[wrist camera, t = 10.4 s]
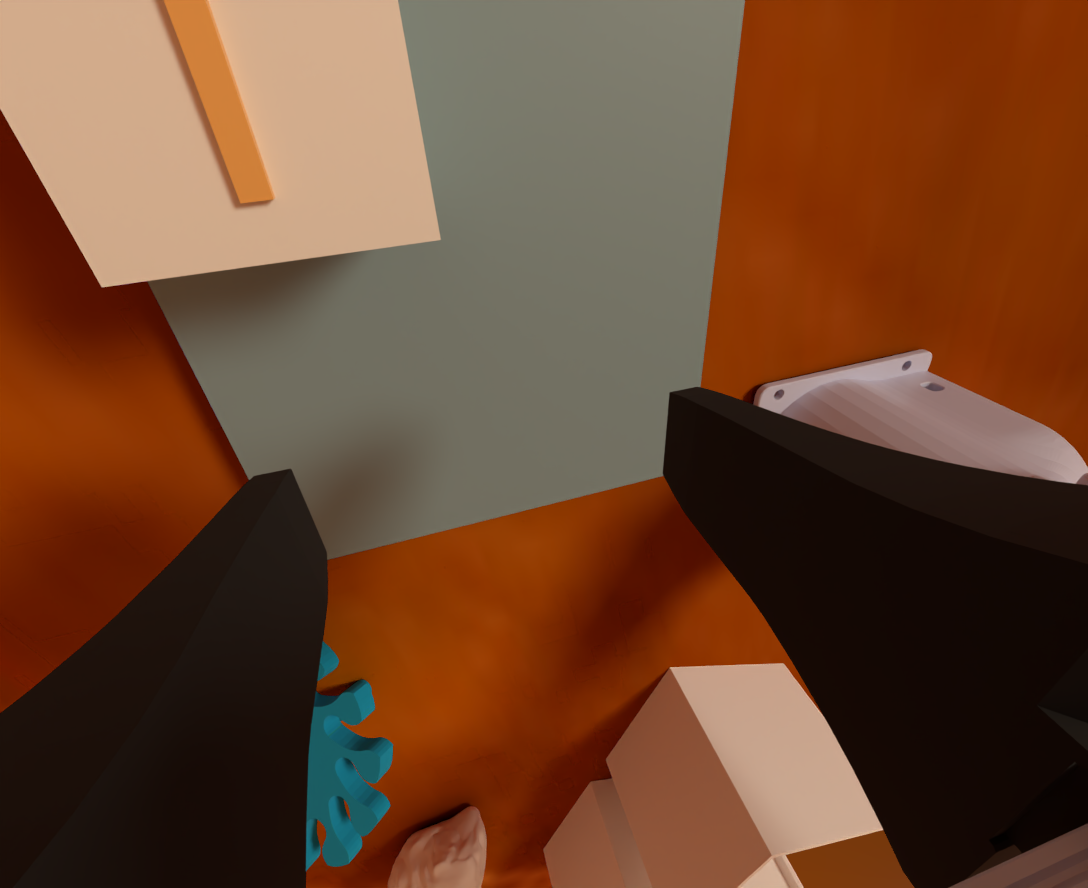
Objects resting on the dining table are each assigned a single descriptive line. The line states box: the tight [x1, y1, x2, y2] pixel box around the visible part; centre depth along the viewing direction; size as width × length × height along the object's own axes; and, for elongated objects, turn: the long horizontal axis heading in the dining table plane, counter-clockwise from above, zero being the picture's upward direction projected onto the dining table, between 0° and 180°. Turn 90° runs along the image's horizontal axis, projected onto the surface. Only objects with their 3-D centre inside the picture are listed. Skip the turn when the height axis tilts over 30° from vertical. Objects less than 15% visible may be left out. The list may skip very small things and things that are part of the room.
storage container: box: [543, 663, 883, 888], centre depth 38 cm, size 25×11×11 cm, turn 159°
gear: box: [306, 642, 393, 871], centre depth 23 cm, size 11×6×10 cm
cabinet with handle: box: [0, 0, 441, 287], centre depth 10 cm, size 6×6×6 cm
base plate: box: [147, 0, 745, 560], centre depth 16 cm, size 17×20×1 cm
